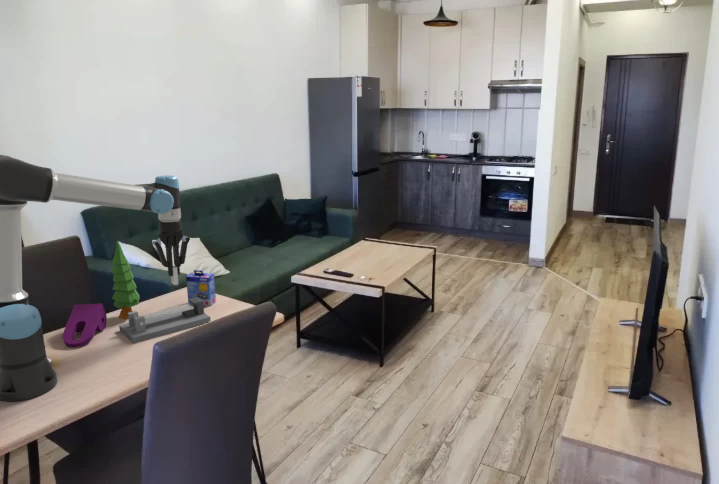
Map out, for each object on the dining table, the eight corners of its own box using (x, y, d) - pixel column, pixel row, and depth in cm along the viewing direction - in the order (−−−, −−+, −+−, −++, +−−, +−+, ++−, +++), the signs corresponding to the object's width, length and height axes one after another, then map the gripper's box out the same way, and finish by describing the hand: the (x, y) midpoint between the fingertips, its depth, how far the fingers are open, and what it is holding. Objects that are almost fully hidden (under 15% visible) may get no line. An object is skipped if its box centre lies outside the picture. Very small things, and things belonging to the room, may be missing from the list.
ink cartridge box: (187, 305, 217) (184, 270, 213) (193, 300, 222) (190, 266, 218) (211, 306, 215) (208, 271, 212) (216, 301, 221) (214, 267, 217)
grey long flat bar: (136, 325, 187) (135, 320, 187) (132, 321, 190) (131, 317, 190) (193, 309, 200) (193, 305, 200) (189, 306, 203) (188, 302, 203)
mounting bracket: (94, 359, 184) (108, 319, 198) (88, 343, 179) (102, 303, 193) (65, 360, 184) (81, 320, 197) (58, 344, 178) (74, 304, 192)
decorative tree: (123, 311, 210) (114, 236, 203) (147, 311, 210) (138, 236, 202) (111, 321, 201) (101, 243, 193) (135, 321, 200) (127, 243, 193)
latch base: (133, 343, 183) (131, 324, 181) (119, 330, 193) (117, 312, 191) (210, 321, 200) (209, 304, 198) (194, 311, 210) (193, 294, 209)
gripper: (155, 224, 183) (161, 290, 189) (192, 219, 191) (196, 282, 197) (147, 220, 189) (153, 285, 194) (183, 216, 197) (187, 278, 203)
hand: (174, 283), depth 196 cm, fingers closed
